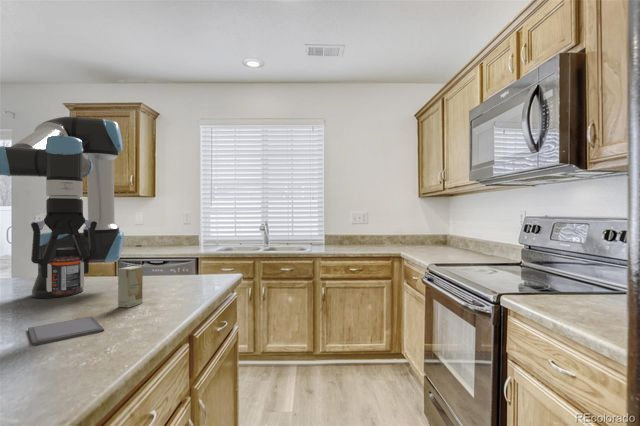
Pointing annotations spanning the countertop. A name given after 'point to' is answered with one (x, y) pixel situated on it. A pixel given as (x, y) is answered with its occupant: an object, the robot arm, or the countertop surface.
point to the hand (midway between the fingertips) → (65, 288)
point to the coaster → (63, 330)
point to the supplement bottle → (65, 272)
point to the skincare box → (130, 286)
